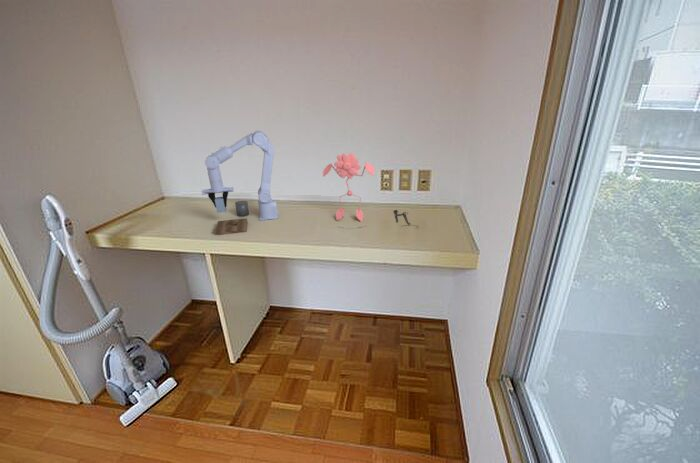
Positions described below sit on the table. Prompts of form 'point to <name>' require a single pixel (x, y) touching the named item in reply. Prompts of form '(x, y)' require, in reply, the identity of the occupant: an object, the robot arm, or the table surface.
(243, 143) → the robot arm
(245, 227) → the socket block
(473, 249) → the table surface
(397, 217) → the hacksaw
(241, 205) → the round peg
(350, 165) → the figurine
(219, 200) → the square peg
